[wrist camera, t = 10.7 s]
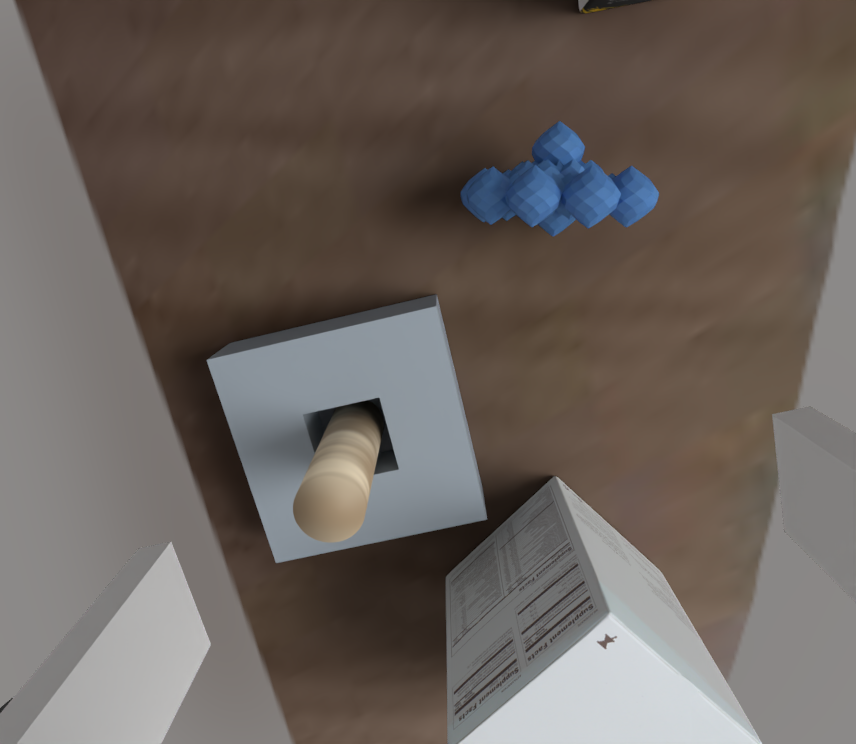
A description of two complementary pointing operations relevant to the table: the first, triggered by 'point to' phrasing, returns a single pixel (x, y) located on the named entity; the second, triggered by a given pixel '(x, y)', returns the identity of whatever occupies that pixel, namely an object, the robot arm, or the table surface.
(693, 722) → the supplement box
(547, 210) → the grapes
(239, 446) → the socket block
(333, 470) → the peg
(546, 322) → the table surface
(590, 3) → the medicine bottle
